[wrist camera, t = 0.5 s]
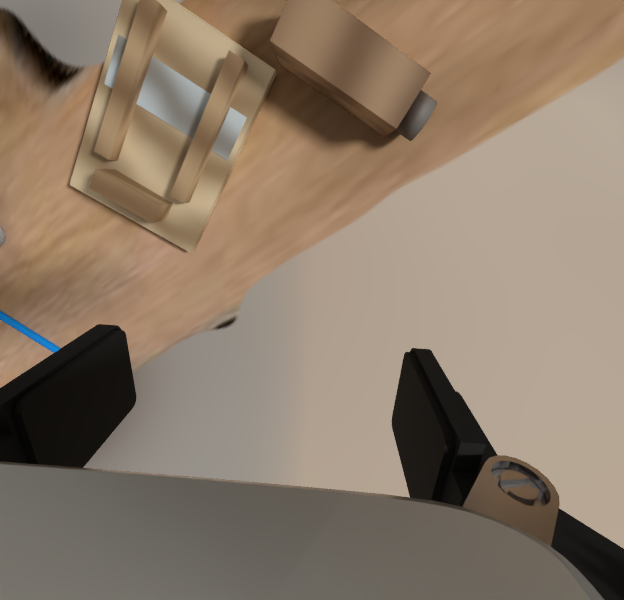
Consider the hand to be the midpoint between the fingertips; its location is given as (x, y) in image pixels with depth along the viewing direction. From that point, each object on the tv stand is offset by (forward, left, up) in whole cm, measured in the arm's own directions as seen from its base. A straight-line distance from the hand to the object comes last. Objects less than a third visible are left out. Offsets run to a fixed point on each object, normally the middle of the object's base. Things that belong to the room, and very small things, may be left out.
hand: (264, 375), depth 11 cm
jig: (-2, -17, -27) cm, 32 cm away
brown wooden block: (-15, -4, -27) cm, 31 cm away
